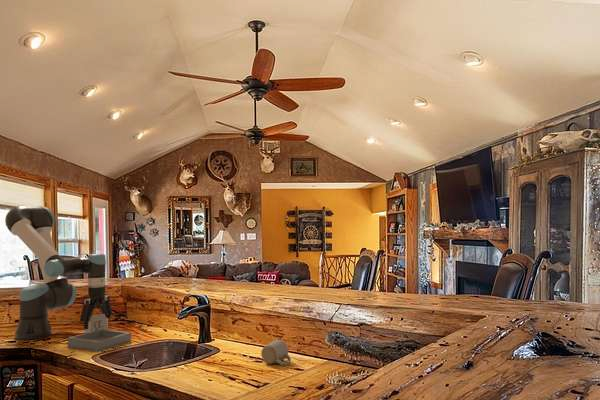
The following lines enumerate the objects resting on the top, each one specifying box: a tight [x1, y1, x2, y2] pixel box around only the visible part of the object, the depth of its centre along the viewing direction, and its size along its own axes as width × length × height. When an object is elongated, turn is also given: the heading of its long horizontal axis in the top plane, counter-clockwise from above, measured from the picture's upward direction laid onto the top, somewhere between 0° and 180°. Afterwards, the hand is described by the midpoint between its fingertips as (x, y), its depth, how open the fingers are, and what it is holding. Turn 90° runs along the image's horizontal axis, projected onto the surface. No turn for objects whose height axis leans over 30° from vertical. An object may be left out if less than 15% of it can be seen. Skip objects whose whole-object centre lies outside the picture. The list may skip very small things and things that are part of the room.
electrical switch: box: [89, 313, 109, 332], centre depth 225 cm, size 9×5×9 cm, turn 152°
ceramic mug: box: [260, 339, 292, 366], centre depth 177 cm, size 11×8×8 cm
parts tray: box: [67, 329, 132, 353], centre depth 205 cm, size 18×18×4 cm
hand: (96, 333), depth 224 cm, fingers open, 9 cm apart
